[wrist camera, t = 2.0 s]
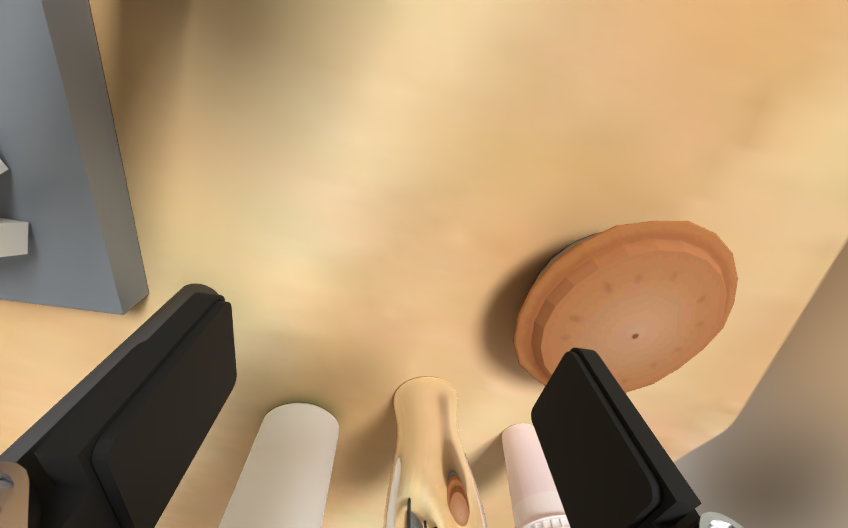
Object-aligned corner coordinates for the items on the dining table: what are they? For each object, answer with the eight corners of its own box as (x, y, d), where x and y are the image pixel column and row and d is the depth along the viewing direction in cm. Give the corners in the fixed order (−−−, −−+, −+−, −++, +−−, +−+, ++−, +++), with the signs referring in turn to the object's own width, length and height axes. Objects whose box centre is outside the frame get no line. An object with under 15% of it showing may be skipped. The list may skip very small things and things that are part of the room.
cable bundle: (223, 319, 25) (-186, 854, 8) (181, 313, 25) (-356, 869, 7) (221, 287, 24) (-285, 849, 6) (176, 280, 23) (-505, 869, 6)
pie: (572, 167, 21) (616, 189, 17) (739, 243, 25) (812, 277, 20) (468, 339, 28) (481, 386, 23) (613, 379, 31) (647, 427, 27)
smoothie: (530, 456, 36) (595, 644, 24) (478, 447, 35) (519, 642, 23) (560, 420, 34) (650, 612, 21) (505, 409, 32) (567, 608, 20)
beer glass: (391, 424, 32) (383, 655, 19) (385, 374, 29) (372, 613, 16) (460, 419, 33) (499, 644, 20) (463, 370, 29) (512, 601, 16)
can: (344, 401, 30) (313, 568, 20) (336, 446, 34) (306, 610, 23) (265, 392, 29) (188, 564, 19) (265, 440, 33) (199, 610, 22)
